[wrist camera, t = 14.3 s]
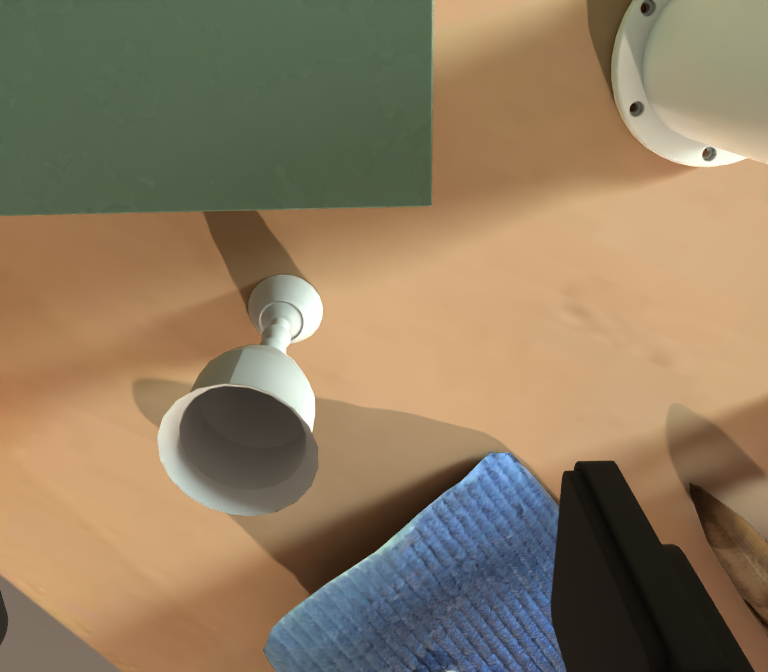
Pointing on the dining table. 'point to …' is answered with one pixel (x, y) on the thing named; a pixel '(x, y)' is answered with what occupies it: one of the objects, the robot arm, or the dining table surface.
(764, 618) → the bread
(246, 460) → the chalice
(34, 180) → the mini fridge
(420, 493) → the dining table surface
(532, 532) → the blue slanted board
